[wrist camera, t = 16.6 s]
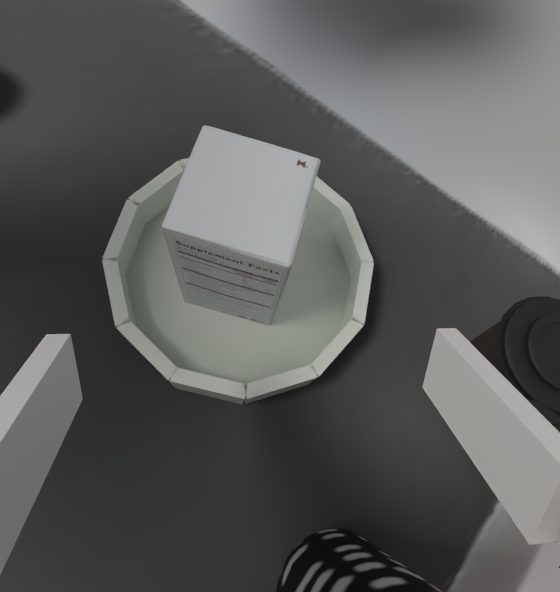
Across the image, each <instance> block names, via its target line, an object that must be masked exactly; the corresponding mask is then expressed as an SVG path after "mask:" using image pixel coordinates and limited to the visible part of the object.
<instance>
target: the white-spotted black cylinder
mask: <svg viewBox="0 0 560 592" xmlns="http://www.w3.org/2000/svg"><path fill="white" fill-rule="evenodd" d="M277 592H442V591H440V590H439V589H437V588H436V587H435V586H433V585H432V584H430V583H429V582H427V581H426V580H424V579H423V578H421V577H420V576H418V575H417V574H415V573H414V572H413V571H411V570H410V569H408V568H407V567H405V566H404V565H402V564H401V563H399V562H398V561H396V560H395V559H393V558H392V557H391V556H389V555H388V554H386V553H385V552H383V551H382V550H380V549H379V548H377V547H376V546H374V545H373V544H371V543H370V542H369V541H367V540H366V539H364V538H363V537H361V536H360V535H358V534H355V533H353V532H350V531H347V530H341V529H327V530H323V531H320V532H316V533H314V534H312V535H310V536H309V537H307V538H305V539H304V540H303V541H302V542H300V543H299V544H298V545H297V546H296V547H295V548H294V550H293V551H292V552H291V553H290V555H289V556H288V558H287V560H286V562H285V564H284V565H283V567H282V570H281V573H280V577H279V580H278V585H277Z"/></svg>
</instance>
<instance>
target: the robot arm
mask: <svg viewBox="0 0 560 592" xmlns="http://www.w3.org/2000/svg"><path fill="white" fill-rule="evenodd" d="M422 388H423V389H424V391H425V392H426V393H427V395H428V396H429V398H430V399H431V401H432V402H433V404H434V405H435V407H436V408H437V410H438V411H439V413H440V414H441V416H442V417H443V419H444V420H445V421H446V423H447V424H448V426H449V427H450V429H451V430H452V432H453V433H454V435H455V436H456V438H457V439H458V441H459V442H460V444H461V445H462V447H463V448H464V449H465V451H466V452H467V454H468V455H469V457H470V458H471V460H472V461H473V463H474V464H475V466H476V467H477V469H478V470H479V472H480V473H481V475H482V476H483V477H484V479H485V480H486V482H487V483H488V485H489V486H490V488H491V489H492V491H493V492H494V494H495V495H496V497H497V498H498V500H499V501H500V503H501V504H502V505H503V507H504V508H505V510H506V511H507V513H508V514H509V516H510V517H511V519H512V520H513V522H514V523H515V525H516V526H517V528H518V529H519V531H520V532H521V534H522V535H523V536H524V538H525V539H526V541H527V542H528V544H529V545H536V544H547V543H556V541H557V539H558V537H559V535H560V418H558V417H557V416H556V415H555V414H554V413H553V412H552V411H551V410H550V409H548V408H546V407H545V406H543V405H541V404H540V403H538V402H537V401H535V400H527V399H526V398H525V397H524V396H523V395H522V394H521V393H520V392H519V391H518V390H517V389H516V388H515V387H514V386H513V385H512V384H511V383H510V382H509V381H508V380H507V379H506V378H505V377H504V376H503V375H502V374H501V373H500V372H499V371H498V370H497V369H496V368H495V367H494V366H493V365H492V364H491V363H490V362H489V361H488V360H487V359H486V358H485V357H484V356H483V355H482V354H481V353H480V352H479V351H478V350H477V349H476V348H475V347H474V346H473V345H472V344H471V343H470V342H469V341H468V340H467V339H466V338H465V337H464V336H463V335H462V334H461V333H460V332H459V331H458V330H457V329H456V328H442V329H437V330H436V334H435V339H434V343H433V347H432V351H431V355H430V359H429V363H428V367H427V371H426V375H425V379H424V383H423V387H422ZM82 400H83V398H82V392H81V387H80V382H79V376H78V371H77V366H76V360H75V355H74V350H73V344H72V339H71V334H46V335H45V337H44V338H43V339H42V341H41V342H40V343H39V345H38V346H37V347H36V349H35V350H34V351H33V353H32V354H31V355H30V357H29V358H28V359H27V361H26V362H25V363H24V365H23V366H22V367H21V369H20V370H19V371H18V373H17V374H16V376H15V377H14V378H13V380H12V381H11V382H10V384H9V385H8V386H7V388H6V389H5V390H4V392H3V393H2V394H1V396H0V575H1V573H2V570H3V568H4V566H5V564H6V562H7V560H8V558H9V555H10V553H11V551H12V549H13V547H14V545H15V543H16V540H17V538H18V536H19V534H20V532H21V530H22V528H23V526H24V523H25V521H26V519H27V517H28V515H29V513H30V511H31V508H32V506H33V504H34V502H35V500H36V498H37V496H38V494H39V491H40V489H41V487H42V485H43V483H44V481H45V479H46V476H47V474H48V472H49V470H50V468H51V466H52V464H53V461H54V459H55V457H56V455H57V453H58V451H59V449H60V447H61V444H62V442H63V440H64V438H65V436H66V434H67V432H68V429H69V427H70V425H71V423H72V421H73V419H74V417H75V414H76V412H77V410H78V408H79V406H80V404H81V402H82ZM559 568H560V567H559Z"/></svg>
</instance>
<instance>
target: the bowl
mask: <svg viewBox="0 0 560 592" xmlns="http://www.w3.org/2000/svg"><path fill="white" fill-rule="evenodd" d="M188 160H189V158H187V159H181V160H180V162H179V161H177V162H175V163H174V164H173V165H171V166H170V167H169V168H167V169H166V170H165V171H163V172H162V173H161V174H159V175H158V176H157V177H155V178H154V179H153V180H151V181H150V182H149V183H147V184H146V185H144V186H143V187H142V188H140V189H139V190H138V191H136V192H135V193H134V194H132V195H131V196H130V197H128V199H129V200H126V202H125V205H124V207H123V210H122V212H121V214H120V217H119V219H118V222H117V224H116V226H115V229H114V231H113V233H112V236H111V238H110V241H109V243H108V245H107V248H106V250H105V253H104V255H103V257H102V259H103V260H102V262H103V267H104V272H105V278H106V283H107V288H108V293H109V298H110V303H111V308H112V313H113V318H114V323H115V327H116V328H117V330H118V331H119V332H120V333H121V334H122V335H123V336H124V337H125V338H126V339H127V340H128V341H129V342H130V343H131V344H132V345H133V346H134V347H135V348H136V349H137V350H138V351H139V352H140V353H141V354H142V355H143V356H144V357H145V358H146V359H147V360H148V361H149V362H150V363H151V364H152V365H153V366H154V367H155V368H156V369H157V370H158V371H159V372H160V373H161V374H162V375H163V376H164V377H165V378H166V379H167V380H168V381H169V382H170V383H171V384H172V385H173V386H174V387H176V389H180V390H184V391H188V392H193V393H197V394H201V395H205V396H209V397H213V398H218V399H222V400H226V401H230V402H234V403H238V404H243V402H244V404H248V403H251V402H254V401H257V400H260V399H264V398H267V397H270V396H273V395H277V394H280V393H283V392H286V391H289V390H293V389H296V388H299V387H302V386H306V385H308V384H310V383H311V382H312V381H314V380H315V379H316V378H318V377H319V376H320V375H321V374H322V373H323V372H324V370H325V369H326V368H327V367H328V366H329V365H330V364H331V362H332V361H333V360H334V359H335V358H336V357H337V356H338V355H339V353H340V352H341V351H342V350H343V349H344V348H345V347H346V345H347V344H348V343H349V342H350V341H351V340H352V339H353V337H354V336H355V335H356V334H357V333H358V332H359V331H360V329H361V328H362V327H363V326H364V324H365V318H366V312H367V305H368V299H369V292H370V286H371V279H372V273H373V266H374V263H373V261H374V260H373V258H372V256H371V253H370V251H369V248H368V246H367V243H366V241H365V238H364V236H363V234H362V231H361V229H360V226H359V224H358V221H357V219H356V217H355V214H354V212H353V209H352V207H351V206H349V205H350V204H349V203H348V202H347V201H345V200H344V199H343V198H342V197H341V196H340V195H338V194H337V193H336V192H335V191H334V190H332V189H331V188H330V187H329V186H328V185H326V184H325V183H324V182H323V181H322V180H320V179H319V178H318V177H317V176H316V180H315V183H314V187H313V191H312V195H311V199H310V202H309V206H308V210H307V214H306V218H305V221H304V225H303V229H302V232H301V236H300V240H299V243H298V247H297V250H296V254H295V257H294V261H293V264H292V267H291V271H290V274H289V277H288V280H287V282H286V285H285V288H284V290H283V293H282V296H281V298H280V301H279V304H278V306H277V309H276V312H275V315H274V318H273V321H272V323H271V325H270V326H267V325H264V324H260V323H257V322H253V321H250V320H246V319H243V318H239V317H236V316H232V315H229V314H225V313H222V312H218V311H215V310H211V309H208V308H204V307H201V306H197V305H194V304H190V303H186V302H185V301H184V298H183V295H182V292H181V289H180V286H179V283H178V279H177V276H176V273H175V270H174V266H173V263H172V260H171V257H170V253H169V250H168V247H167V244H166V241H165V237H164V233H163V230H162V228H161V225H162V223H163V221H164V218H165V216H166V213H167V211H168V208H169V206H170V203H171V201H172V198H173V196H174V193H175V191H176V189H177V186H178V184H179V181H180V179H181V177H182V174H183V172H184V169H185V167H186V164H187V162H188Z"/></svg>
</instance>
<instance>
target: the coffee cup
mask: <svg viewBox="0 0 560 592" xmlns="http://www.w3.org/2000/svg"><path fill="white" fill-rule="evenodd" d="M470 343H471V344H472V345H473V346H474V347H475V348H476V349H477V350H478V351H479V352H480V353H481V354H482V355H483V356H484V357H485V358H486V359H487V360H488V361H489V362H490V363H491V364H492V365H493V366H494V367H495V368H496V369H497V370H498V371H499V372H500V373H501V374H502V375H503V376H504V377H505V378H506V379H507V380H508V381H509V382H510V383H511V384H512V385H513V386H514V387H515V388H516V389H517V390H518V391H519V392H520V393H521V394H522V395H523V396H524V397H525V398H526V399H527V400H535V401H537V402H538V403H540V404H541V405H543V406H545V407H546V408H548V409H550V410H551V411H552V412H553V413H554V414H555V415H556V416H557V417H558V418H560V300H559V299H554V298H550V297H529V298H526V299H524V300H522V301H520V302H517V303H515V304H514V305H513V306H512V307H511V308H510V309H509V310H508V311H507V312H506V313H505V314H504V315H503V318H502V320H501V321H500V322H499V323H497V324H496V325H494V326H493V327H491V328H490V329H488V330H487V331H485V332H484V333H482V334H481V335H479V336H478V337H476V338H475V339H473V340H472V341H470Z"/></svg>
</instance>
